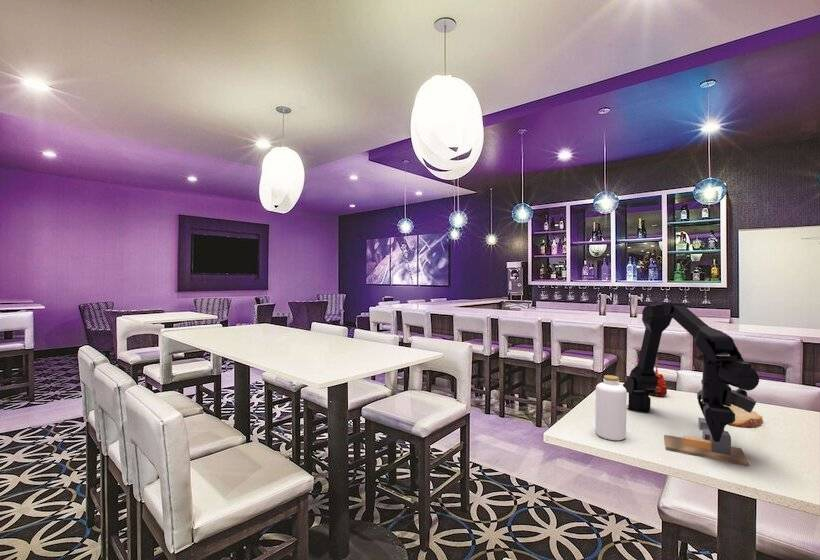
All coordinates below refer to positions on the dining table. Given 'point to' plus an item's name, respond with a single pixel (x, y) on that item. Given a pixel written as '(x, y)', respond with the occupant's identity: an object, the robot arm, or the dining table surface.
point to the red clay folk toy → (660, 385)
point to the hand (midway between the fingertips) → (713, 435)
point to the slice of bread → (745, 418)
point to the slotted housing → (704, 428)
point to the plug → (711, 443)
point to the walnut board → (705, 451)
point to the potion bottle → (611, 409)
